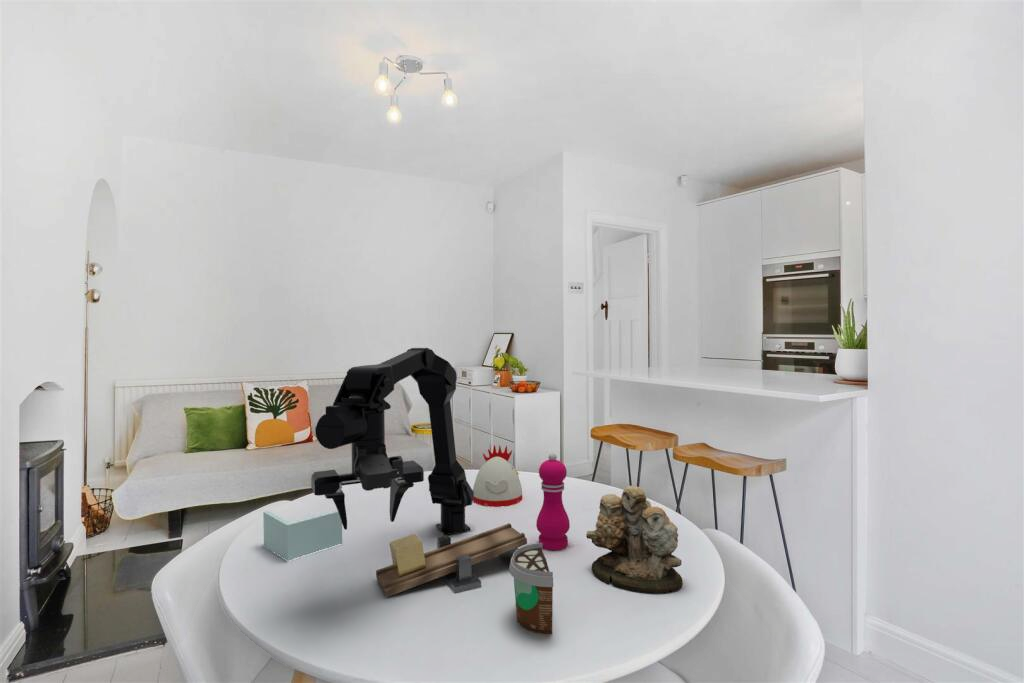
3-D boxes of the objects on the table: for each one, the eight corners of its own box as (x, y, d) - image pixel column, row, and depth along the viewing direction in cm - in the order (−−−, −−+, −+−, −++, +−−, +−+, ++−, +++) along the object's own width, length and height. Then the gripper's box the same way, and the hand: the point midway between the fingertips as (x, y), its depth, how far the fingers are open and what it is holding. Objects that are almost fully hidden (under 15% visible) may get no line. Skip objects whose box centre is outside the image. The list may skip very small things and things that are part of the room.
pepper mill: (568, 552, 112) (567, 457, 111) (534, 550, 113) (533, 456, 113) (571, 539, 119) (570, 449, 118) (539, 537, 120) (538, 448, 120)
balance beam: (387, 597, 93) (385, 587, 93) (376, 578, 100) (375, 569, 100) (527, 543, 105) (526, 535, 105) (509, 530, 112) (508, 522, 112)
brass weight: (400, 580, 96) (395, 550, 95) (393, 570, 100) (389, 542, 99) (426, 570, 98) (422, 541, 97) (419, 561, 102) (415, 533, 101)
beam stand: (455, 592, 95) (454, 564, 95) (429, 560, 108) (428, 536, 108) (536, 573, 102) (536, 547, 102) (502, 545, 115) (502, 522, 115)
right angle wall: (342, 544, 117) (341, 510, 117) (287, 562, 108) (287, 525, 108) (316, 531, 125) (315, 499, 125) (263, 546, 116) (263, 511, 116)
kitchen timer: (522, 507, 142) (521, 450, 141) (470, 507, 142) (469, 450, 141) (522, 491, 155) (521, 440, 155) (474, 491, 156) (474, 440, 155)
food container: (506, 600, 92) (506, 543, 92) (542, 599, 92) (541, 541, 92) (512, 642, 80) (512, 575, 79) (553, 639, 80) (553, 573, 80)
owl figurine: (577, 581, 99) (576, 489, 99) (596, 557, 110) (596, 474, 110) (677, 601, 91) (676, 501, 91) (688, 573, 102) (687, 484, 102)
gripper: (318, 452, 83) (319, 551, 84) (433, 440, 92) (433, 530, 92) (310, 439, 93) (311, 528, 94) (414, 430, 102) (415, 511, 102)
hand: (369, 525), depth 95 cm, fingers open, 8 cm apart
